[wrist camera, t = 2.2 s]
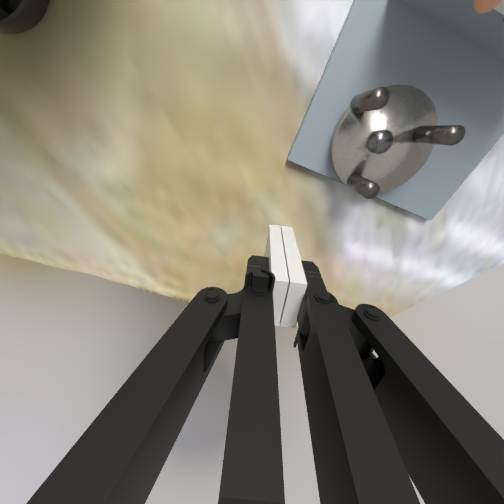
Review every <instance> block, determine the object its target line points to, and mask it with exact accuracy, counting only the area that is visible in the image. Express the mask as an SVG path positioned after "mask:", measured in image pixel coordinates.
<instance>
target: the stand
mask: <svg viewBox="0 0 504 504" xmlns="http://www.w3.org/2000/svg"><path fill="white" fill-rule="evenodd" d="M390 85H409V86H413V87H415V88H418V89H420V90H421V91H423V92H424V93H425V94H426V95H427V96H428V97H429V98H430V99H431V101H432V102H433V104H434V106H435V108H436V112H437V116H438V125H462V126H463V127H464V128H465V136H464V138H463V139H462V140H461V141H460V142H459V143H458V144H456V145H453V146H449V145H439V144H435V145H434V148H433V150H432V152H431V154H430V156H429V158H428V159H427V161H426V162H425V164H424V165H423V166H422V168H421V169H420V170H419V171H418V172H417V173H416V174H415V175H414V176H413V177H412V178H411V179H410V180H408V181H407V182H405V183H404V184H402V185H400V186H399V187H397V188H394V189H392V190H389V191H386V192H382V193H378V195H377V196H376V198H379V199H381V200H383V201H386V202H388V203H391V204H393V205H395V206H398V207H400V208H402V209H405V210H407V211H409V212H412V213H414V214H417V215H419V216H421V217H424V218H426V219H428V220H432V219H433V218H434V217H435V215H436V214H437V213H438V212H439V211H440V209H441V208H442V207H443V206H444V205H445V203H446V202H447V201H448V200H449V199H450V197H451V196H452V195H453V194H454V192H455V191H456V190H457V189H458V188H459V186H460V185H461V184H462V183H463V182H464V180H465V179H466V178H467V177H468V176H469V174H470V173H471V172H472V171H473V170H474V168H475V167H476V166H477V165H478V164H479V162H480V161H481V160H482V159H483V158H484V156H485V155H486V154H487V153H488V152H489V150H490V149H491V148H492V147H493V145H494V144H495V143H496V142H497V141H498V139H499V138H500V137H501V136H502V135H503V133H504V0H354V2H353V4H352V6H351V9H350V11H349V13H348V16H347V18H346V20H345V23H344V25H343V27H342V30H341V32H340V34H339V37H338V39H337V42H336V44H335V46H334V49H333V51H332V53H331V56H330V58H329V60H328V63H327V65H326V67H325V70H324V72H323V74H322V77H321V79H320V82H319V84H318V86H317V89H316V91H315V93H314V96H313V98H312V100H311V103H310V105H309V107H308V110H307V112H306V114H305V117H304V119H303V122H302V124H301V126H300V129H299V131H298V133H297V136H296V138H295V140H294V143H293V145H292V147H291V150H290V152H289V155H288V157H287V160H289V161H291V162H294V163H296V164H298V165H301V166H303V167H306V168H308V169H310V170H313V171H315V172H317V173H320V174H322V175H324V176H327V177H329V178H332V179H334V180H336V181H339V182H341V183H343V184H345V183H344V182H342V181H341V180H340V179H339V177H338V176H337V175H336V173H335V171H334V169H333V167H332V164H331V159H330V144H331V139H332V135H333V132H334V130H335V127H336V125H337V123H338V121H339V120H340V118H341V117H342V115H343V114H344V112H345V111H346V110H347V109H348V108H349V107H350V102H351V100H352V98H353V97H354V96H356V95H358V94H361V93H364V92H367V91H369V90H372V89H375V88H378V87H386V86H390Z"/></svg>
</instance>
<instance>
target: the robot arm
mask: <svg viewBox="0 0 504 504" xmlns="http://www.w3.org/2000/svg"><path fill="white" fill-rule="evenodd" d="M48 2H49V0H0V32H3V33H20V32H23V31H26V30H28V29H30V28H32V27H33V26H34V25H35V24H36V23H37V22H38V21H39V20H40V19H41V17H42V16H43V14H44V12H45V10H46V8H47V5H48ZM297 321H298V326H299V328H298V331H297V334H296V338H295V341H294V347H296V344H297V343H298V350H299V357H300V363H301V371H302V378H303V384H304V392H305V399H306V406H307V412H308V420H309V427H310V434H311V441H312V448H313V455H314V462H315V469H316V476H317V482H318V490H319V497H320V503H321V504H420V502H419V500H418V497H417V495H416V492H415V490H414V487H413V485H412V483H411V480H410V478H411V479H412V481H413V483H414V484H415V486H416V488H417V490H418V492H419V493H420V495H421V497H422V498H423V500H424V502H425V504H504V440H503V439H502V437H501V436H500V435H499V434H498V433H497V432H496V431H495V430H494V429H493V428H492V427H491V426H490V425H489V424H488V423H487V422H486V420H484V418H483V417H482V416H481V415H480V414H479V413H478V412H477V411H476V410H475V409H474V408H473V407H472V406H471V404H470V403H469V402H468V401H467V400H466V399H465V398H464V397H463V396H462V395H461V394H460V393H459V392H458V391H457V390H456V389H455V388H454V387H453V385H452V384H451V383H450V382H449V381H448V380H447V379H446V378H445V377H444V376H443V375H442V374H441V373H440V372H439V370H438V369H437V368H436V367H435V366H434V365H433V364H432V363H431V362H430V361H429V360H428V359H427V358H426V357H425V356H424V355H423V354H422V352H421V351H420V350H419V349H418V348H417V347H416V346H415V345H414V344H413V343H412V342H411V341H410V340H409V339H408V337H407V336H406V335H405V334H404V333H403V332H402V331H401V330H400V329H399V328H398V327H397V326H396V325H395V324H394V322H393V321H392V320H391V319H390V318H389V317H388V316H387V315H386V314H385V313H384V312H383V311H381V310H380V309H378V308H377V307H375V306H372V305H369V304H360V305H358V306H357V307H356V309H355V310H353V309H350V308H347V307H344V306H342V305H339V304H338V301H337V299H336V298H335V296H333V295H332V294H331V293H329V292H327V290H326V287H325V285H324V282H323V279H322V278H321V274H320V272H319V269H318V267H317V266H316V265H315V264H314V263H313V262H309V261H301V259H300V255H299V251H298V248H297V244H296V240H295V237H294V233H293V229H292V227H286V226H281V228H280V226H278V225H269V231H268V237H267V244H266V250H265V256H264V257H262V256H253V255H252V256H251V257H250V258H249V259H248V264H247V272H246V276H245V285H244V288H243V289H242V290H241V291H240V292H237V293H234V294H227V293H226V292H225V291H224V290H222V289H220V288H217V287H208V288H205V289H202V290H201V291H199V292H198V293H197V295H196V296H195V297H194V298H193V300H192V301H191V302H190V303H189V304H188V306H187V307H186V308H185V309H184V311H183V312H182V313H181V314H180V316H179V317H178V318H177V319H176V320H175V322H174V323H173V324H172V325H171V327H170V328H169V329H168V330H167V332H166V333H165V334H164V335H163V336H162V338H161V339H160V340H159V341H158V343H157V344H156V345H155V346H154V347H153V349H152V350H151V351H150V353H149V354H148V355H147V356H146V357H145V359H144V360H143V361H142V362H141V363H140V365H139V366H138V367H137V368H136V370H135V371H134V372H133V373H132V375H131V376H130V377H129V378H128V380H127V381H126V382H125V383H124V384H123V386H122V387H121V388H120V389H119V390H118V392H117V393H116V394H115V396H114V397H113V398H112V399H111V400H110V402H109V403H108V404H107V405H106V406H105V408H104V409H103V410H102V411H101V413H100V414H99V415H98V416H97V417H96V419H95V420H94V421H93V423H92V424H91V425H90V426H89V427H88V429H87V430H86V431H85V432H84V433H83V435H82V436H81V437H80V439H79V440H78V441H77V442H76V443H75V445H74V446H73V447H72V448H71V449H70V451H69V452H68V453H67V455H66V456H65V457H64V458H63V459H62V461H61V462H60V463H59V464H58V466H57V467H56V468H55V469H54V470H53V472H52V473H51V474H50V475H49V477H48V478H47V479H46V480H45V482H44V483H43V484H42V485H41V486H40V488H39V489H38V490H37V491H36V492H35V494H34V495H33V496H32V497H31V499H30V500H29V501H28V503H27V504H145V502H146V500H147V498H148V495H149V494H150V492H151V490H152V488H153V486H154V484H155V482H156V479H157V478H158V476H159V474H160V471H161V469H162V467H163V465H164V463H165V461H166V459H167V457H168V455H169V453H170V451H171V449H172V447H173V445H174V443H175V441H176V439H177V437H178V435H179V433H180V431H181V429H182V427H183V425H184V423H185V421H186V419H187V417H188V415H189V412H190V410H191V408H192V406H193V404H194V402H195V400H196V398H197V396H198V394H199V392H200V390H201V388H202V386H203V384H204V382H205V380H206V378H207V376H208V374H209V372H210V370H211V368H212V366H213V364H214V362H215V360H216V358H217V356H218V354H219V352H220V350H221V347H222V345H223V343H224V340H229V339H235V338H238V344H237V352H236V360H235V369H234V377H233V385H232V393H231V402H230V410H229V418H228V427H227V435H226V443H225V451H224V460H223V468H222V476H221V485H220V493H219V501H218V504H285V498H284V480H283V463H282V445H281V428H280V410H279V393H278V375H277V358H276V340H275V325H276V326H279V323H280V326H284V327H293V328H294V327H296V323H297ZM373 350H375V352H376V353H377V354H378V356H379V357H378V358H376V357H375V356H374V355H373V353H372V352H373ZM408 474H409V475H408ZM409 476H410V478H409Z"/></svg>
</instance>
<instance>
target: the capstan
mask: <svg viewBox="0 0 504 504" xmlns="http://www.w3.org/2000/svg"><path fill="white" fill-rule="evenodd" d="M464 136H465V128H464V127H463V126H462V125H438V116H437V112H436V108H435V106H434V104H433V102H432V101H431V99H430V98H429V97H428V96H427V95H426V94H425V93H424V92H423V91H421V90H420V89H418V88H415V87H413V86H409V85H390V86H386V87H378V88H375V89H372V90H369V91H367V92H364V93H361V94H358V95H356V96H354V97H353V98H352V100H351V102H350V107H349V108H348V109H347V110H346V111H345V112H344V114H343V115H342V117H341V118H340V120H339V121H338V123H337V125H336V127H335V130H334V132H333V135H332V139H331V144H330V159H331V164H332V167H333V169H334V171H335V173H336V175H337V176H338V177H339V179H340V180H341V181H342V182H344V183H345V184H346V185H348V186H349V187H351V188H352V189H354V190H355V191H356V192H358V193H359V194H361V195H362V196H364V197H365V198H367V199H371V198H374V197H376V196H377V195H378V193H382V192H386V191H389V190H392V189H394V188H397V187H399V186H400V185H402V184H404V183H405V182H407V181H408V180H410V179H411V178H412V177H413V176H414V175H415V174H416V173H417V172H418V171H419V170H420V169H421V168H422V166H423V165H424V164H425V162H426V161H427V159H428V158H429V156H430V154H431V152H432V150H433V148H434V145H435V144H439V145H449V146H453V145H456V144H458V143H459V142H460V141H461V140H462V139H463V138H464Z"/></svg>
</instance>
